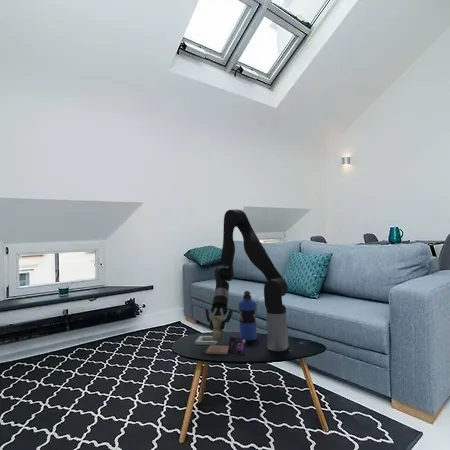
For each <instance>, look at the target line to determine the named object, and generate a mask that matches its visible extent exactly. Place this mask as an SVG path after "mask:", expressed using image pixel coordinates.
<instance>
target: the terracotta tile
mask: <svg viewBox="0 0 450 450" xmlns="http://www.w3.org/2000/svg"><path fill="white" fill-rule="evenodd" d="M228 348H229V345H217V344H216V345H208V348H207V349H206V350H205V354H207V355H228V353H229V352H228Z"/></svg>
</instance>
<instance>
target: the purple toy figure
mask: <svg viewBox="0 0 450 450" xmlns="http://www.w3.org/2000/svg"><path fill="white" fill-rule="evenodd" d="M236 341H237V342H238V344H237V346H236V343H237V342H236ZM228 346H229V348H228V353H232V354H233V353H234V354H238V355H242V356H243V355H245V352H246V346H247V341H246V339H240V337H234V336H230V338H229V342H228ZM235 349H236V350H238V351H240V352H236V351H235Z"/></svg>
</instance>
